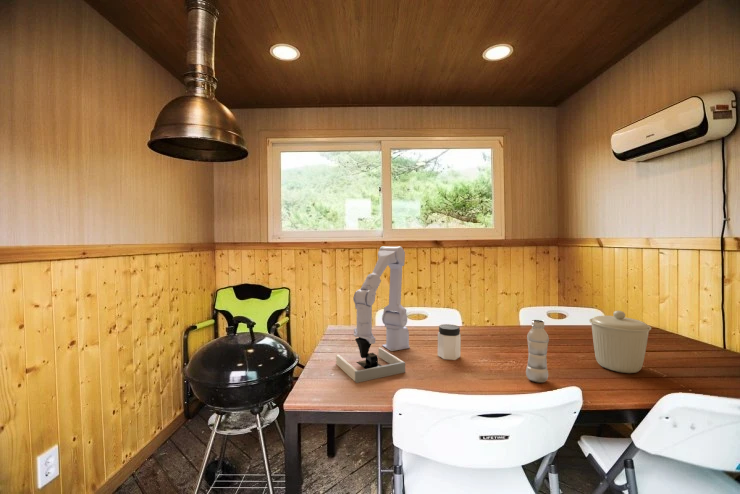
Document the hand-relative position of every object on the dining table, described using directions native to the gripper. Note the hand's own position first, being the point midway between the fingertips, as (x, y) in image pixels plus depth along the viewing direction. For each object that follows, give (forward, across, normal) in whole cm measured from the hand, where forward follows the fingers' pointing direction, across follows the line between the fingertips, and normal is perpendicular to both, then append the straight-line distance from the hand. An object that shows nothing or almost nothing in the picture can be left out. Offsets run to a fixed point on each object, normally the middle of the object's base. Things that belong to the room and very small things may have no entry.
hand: (364, 357), depth 124 cm
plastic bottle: (+3, +39, +45) cm, 60 cm away
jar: (+3, +8, +34) cm, 35 cm away
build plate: (+3, +3, +2) cm, 5 cm away
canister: (+3, +45, +82) cm, 94 cm away
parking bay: (+2, +4, 0) cm, 5 cm away
